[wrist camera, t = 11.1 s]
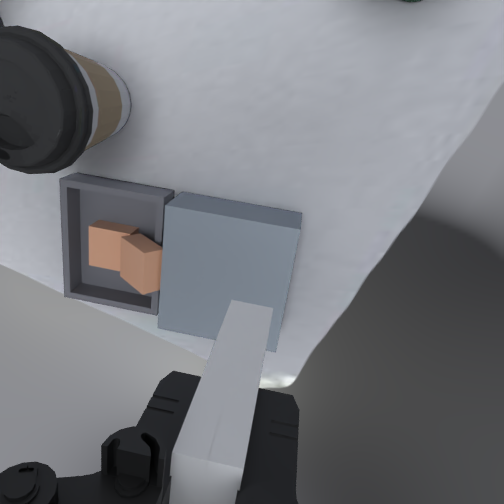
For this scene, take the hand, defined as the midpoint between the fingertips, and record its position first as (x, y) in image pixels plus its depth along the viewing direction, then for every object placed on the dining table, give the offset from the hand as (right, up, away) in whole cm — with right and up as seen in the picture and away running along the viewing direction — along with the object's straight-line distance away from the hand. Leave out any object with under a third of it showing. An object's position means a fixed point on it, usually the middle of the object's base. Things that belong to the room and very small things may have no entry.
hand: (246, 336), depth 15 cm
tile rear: (-17, +3, +33) cm, 37 cm away
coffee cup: (-16, +20, +30) cm, 40 cm away
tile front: (-11, +2, +32) cm, 34 cm away
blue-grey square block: (-2, +2, +35) cm, 35 cm away
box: (-16, +4, +36) cm, 39 cm away
